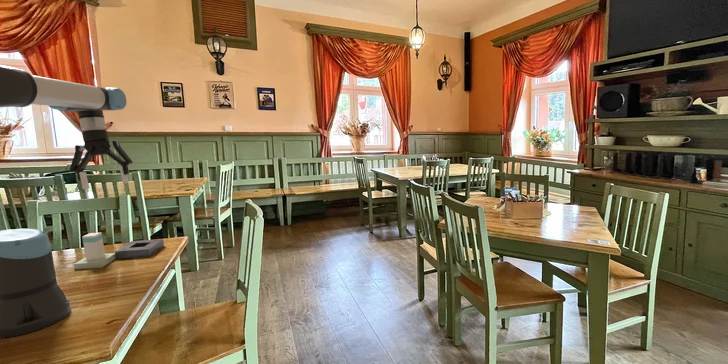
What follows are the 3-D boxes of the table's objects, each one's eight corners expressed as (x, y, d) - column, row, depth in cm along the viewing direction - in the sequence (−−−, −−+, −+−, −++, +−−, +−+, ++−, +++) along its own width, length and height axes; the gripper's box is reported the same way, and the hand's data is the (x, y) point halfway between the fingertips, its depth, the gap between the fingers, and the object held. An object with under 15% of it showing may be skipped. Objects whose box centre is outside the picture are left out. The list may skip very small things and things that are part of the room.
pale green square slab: (102, 267, 121) (101, 261, 121) (74, 269, 120) (73, 263, 120) (117, 257, 130) (116, 252, 130) (91, 259, 129) (90, 254, 129)
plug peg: (99, 265, 123) (94, 235, 122) (86, 266, 123) (82, 236, 121) (106, 260, 127) (101, 232, 126) (94, 261, 127) (89, 233, 125)
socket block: (150, 256, 130) (149, 249, 130) (116, 259, 129) (114, 251, 128) (163, 245, 142) (163, 239, 142) (132, 248, 141) (131, 241, 140)
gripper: (135, 127, 134) (146, 180, 136) (63, 135, 130) (75, 190, 132) (125, 125, 127) (137, 181, 129) (49, 133, 123) (62, 192, 124)
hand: (106, 186), depth 130 cm, fingers open, 13 cm apart
